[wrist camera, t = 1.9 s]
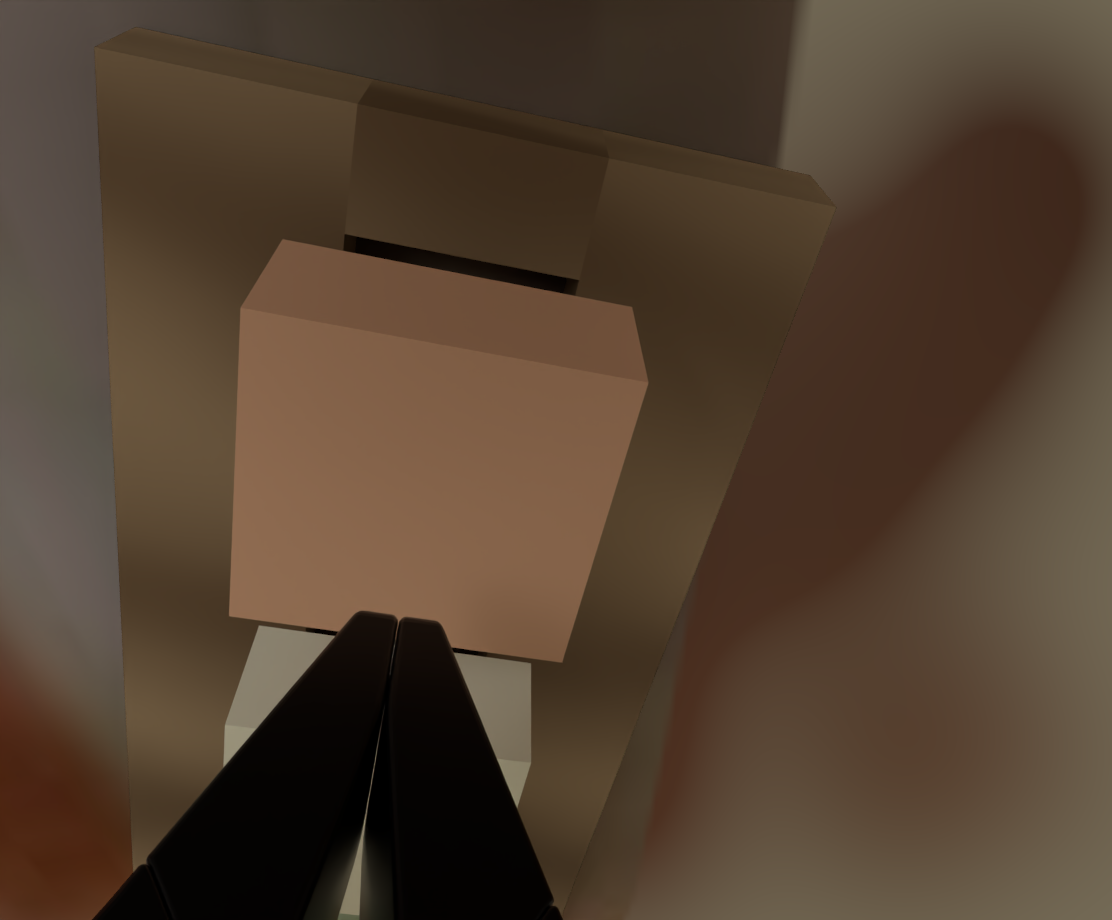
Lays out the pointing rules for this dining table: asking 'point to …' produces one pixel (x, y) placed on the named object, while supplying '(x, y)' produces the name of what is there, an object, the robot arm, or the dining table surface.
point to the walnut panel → (440, 226)
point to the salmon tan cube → (425, 448)
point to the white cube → (489, 680)
